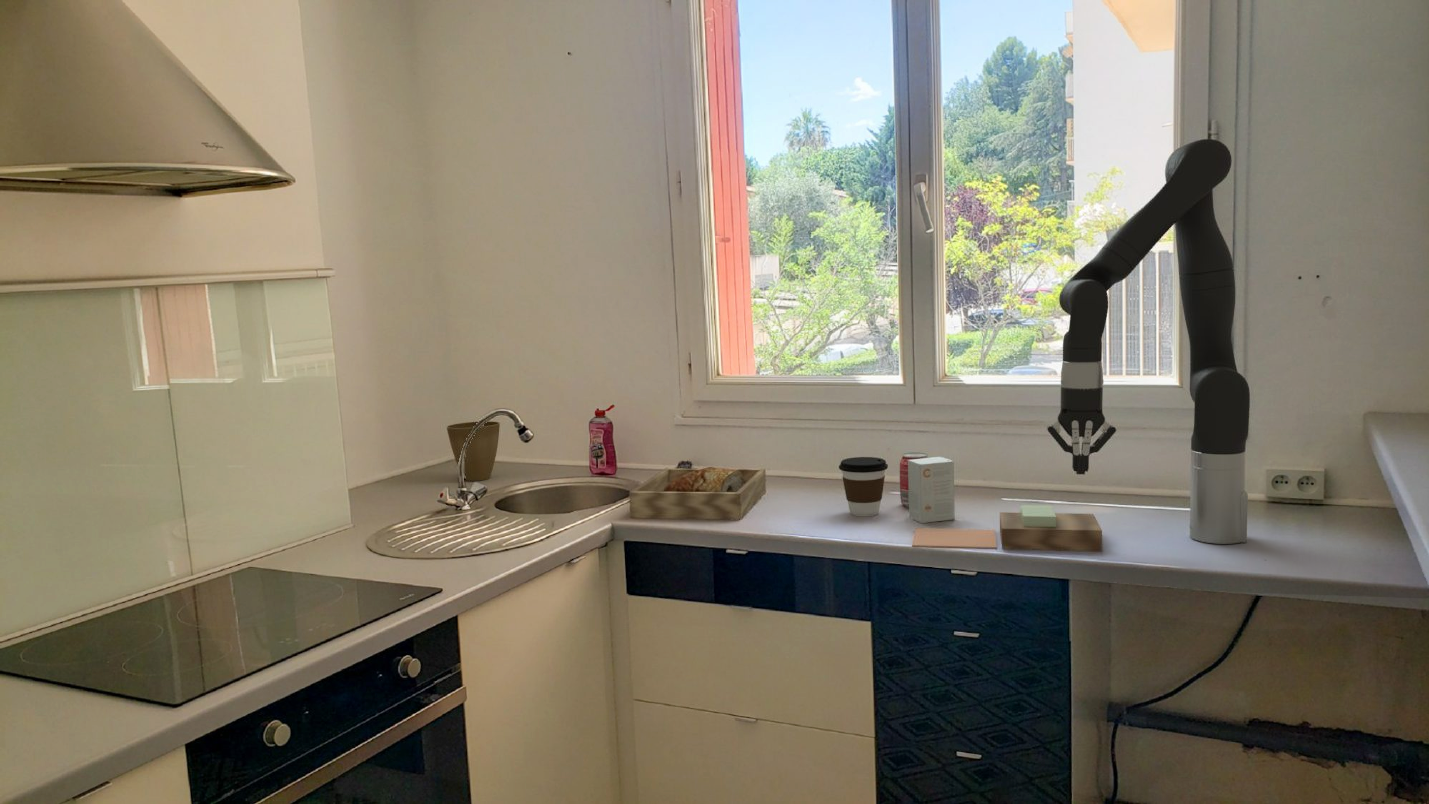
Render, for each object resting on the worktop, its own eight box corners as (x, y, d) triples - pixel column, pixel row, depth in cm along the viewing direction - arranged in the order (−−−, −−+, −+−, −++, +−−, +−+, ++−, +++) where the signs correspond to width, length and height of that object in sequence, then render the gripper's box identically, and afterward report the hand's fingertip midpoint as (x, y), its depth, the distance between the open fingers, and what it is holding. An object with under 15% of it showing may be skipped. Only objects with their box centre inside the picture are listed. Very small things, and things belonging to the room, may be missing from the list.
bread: (712, 519, 221) (710, 476, 220) (646, 512, 231) (644, 471, 230) (755, 500, 239) (754, 460, 237) (693, 494, 248) (691, 456, 247)
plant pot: (511, 478, 280) (507, 423, 278) (460, 486, 272) (455, 429, 270) (493, 471, 292) (489, 418, 290) (444, 478, 284) (440, 424, 282)
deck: (1093, 533, 195) (1093, 513, 194) (1102, 551, 182) (1102, 530, 182) (999, 531, 199) (999, 512, 199) (1002, 548, 187) (1001, 528, 187)
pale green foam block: (1052, 515, 195) (1052, 505, 194) (1056, 526, 186) (1056, 516, 186) (1020, 515, 196) (1020, 505, 196) (1023, 526, 187) (1023, 516, 187)
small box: (941, 513, 217) (940, 456, 215) (955, 520, 211) (954, 460, 209) (908, 517, 215) (907, 459, 213) (921, 523, 209) (920, 464, 207)
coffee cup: (887, 506, 225) (885, 455, 224) (890, 518, 214) (889, 464, 213) (839, 507, 226) (838, 457, 225) (841, 519, 215) (839, 466, 214)
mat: (994, 531, 200) (994, 529, 200) (996, 548, 187) (996, 547, 187) (915, 529, 204) (915, 528, 204) (912, 546, 191) (912, 545, 191)
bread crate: (766, 492, 246) (765, 468, 246) (741, 519, 219) (740, 493, 218) (666, 491, 253) (665, 468, 252) (630, 517, 226) (629, 492, 225)
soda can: (935, 503, 226) (934, 452, 225) (925, 510, 220) (924, 458, 219) (906, 501, 230) (905, 451, 229) (895, 507, 224) (894, 456, 222)
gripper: (1116, 382, 188) (1114, 470, 190) (1043, 382, 191) (1042, 469, 193) (1121, 386, 180) (1119, 478, 183) (1046, 387, 184) (1045, 476, 186)
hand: (1080, 473), depth 188 cm, fingers closed
